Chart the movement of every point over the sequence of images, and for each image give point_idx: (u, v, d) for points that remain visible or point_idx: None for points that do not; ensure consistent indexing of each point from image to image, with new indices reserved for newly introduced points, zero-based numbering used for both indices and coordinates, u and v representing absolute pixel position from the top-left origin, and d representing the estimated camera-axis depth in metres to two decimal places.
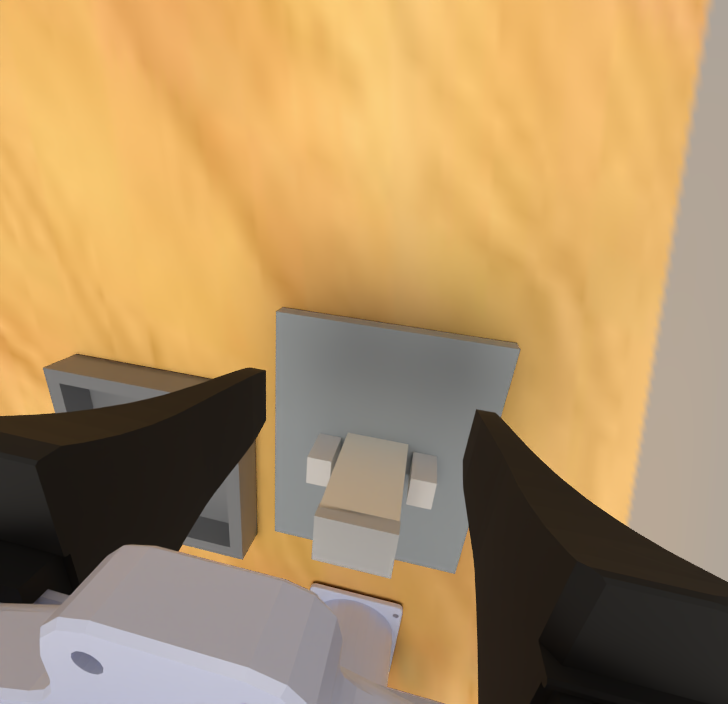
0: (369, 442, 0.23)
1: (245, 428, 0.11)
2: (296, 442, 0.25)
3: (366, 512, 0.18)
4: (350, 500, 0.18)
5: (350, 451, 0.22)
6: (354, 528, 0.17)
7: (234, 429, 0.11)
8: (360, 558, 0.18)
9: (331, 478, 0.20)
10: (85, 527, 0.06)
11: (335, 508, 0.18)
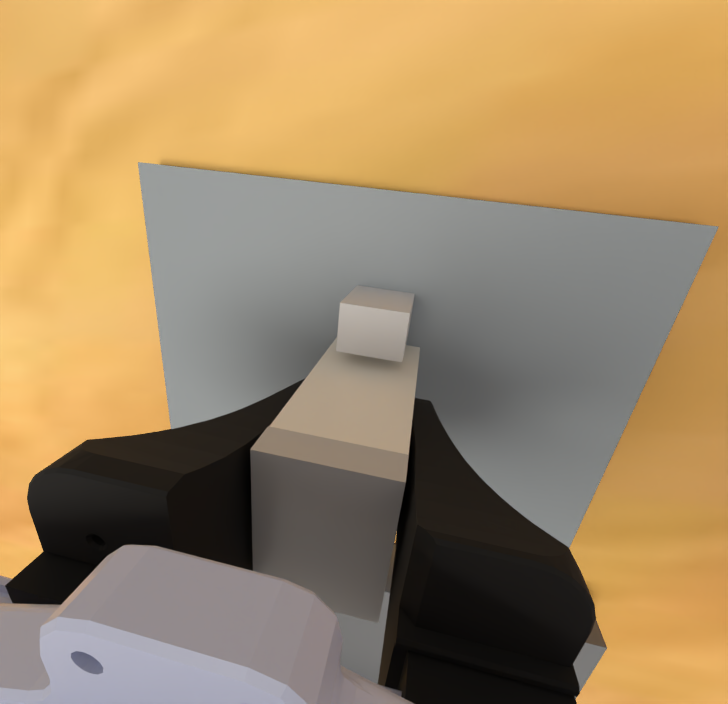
0: None
1: None
2: None
3: None
4: None
5: None
6: (262, 530, 0.08)
7: None
8: (349, 535, 0.07)
9: None
10: None
11: None
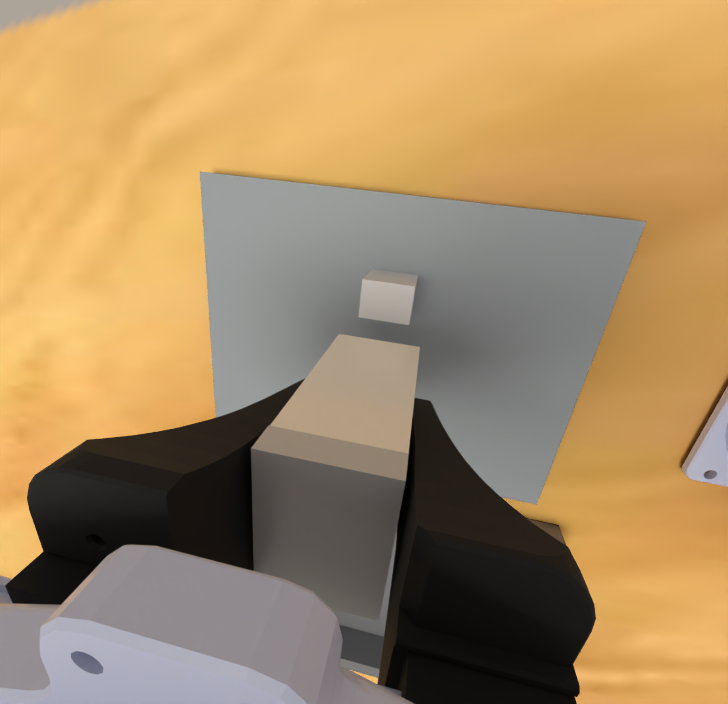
0: None
1: None
2: None
3: None
4: None
5: None
6: (263, 529, 0.08)
7: None
8: (349, 534, 0.07)
9: None
10: (195, 556, 0.06)
11: None
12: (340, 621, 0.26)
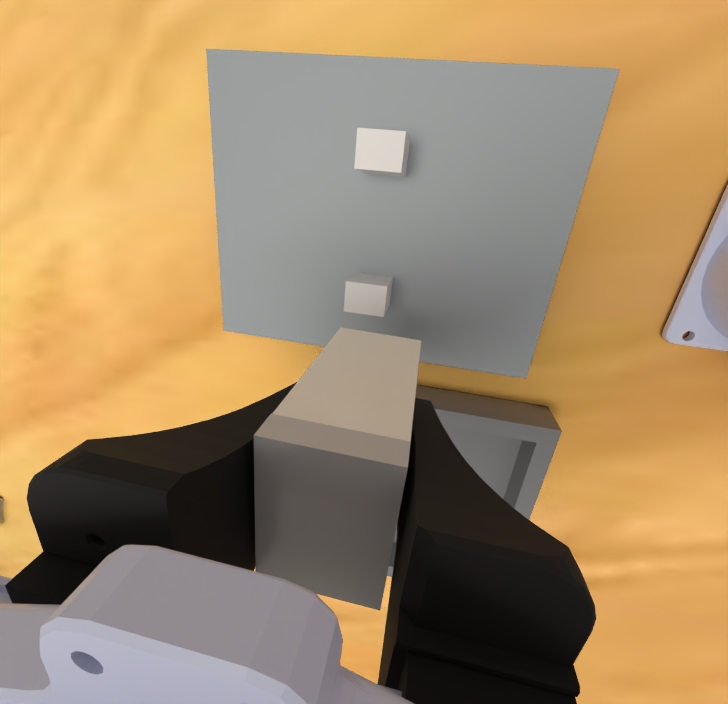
0: None
1: None
2: (371, 329, 0.20)
3: None
4: None
5: None
6: (265, 517, 0.08)
7: None
8: (351, 521, 0.07)
9: None
10: (195, 556, 0.06)
11: None
12: None
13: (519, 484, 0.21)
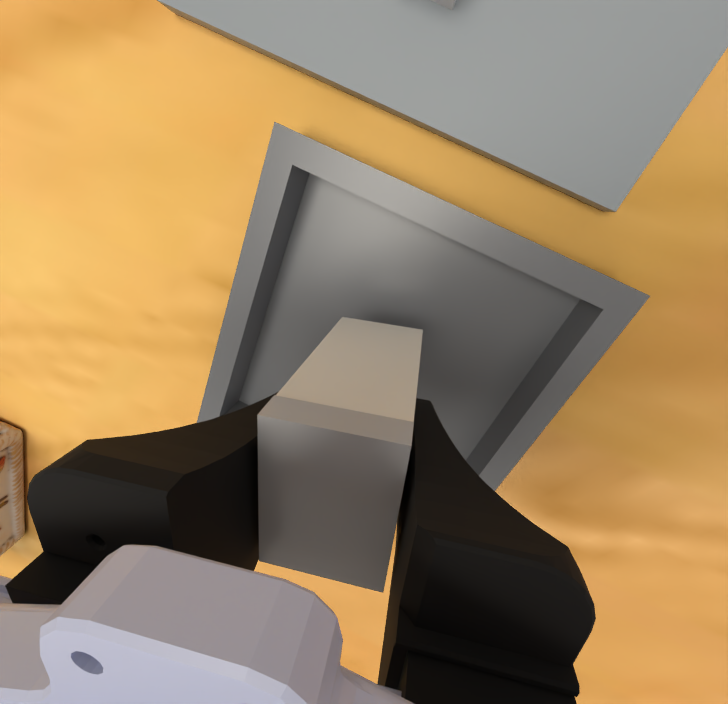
0: None
1: None
2: (405, 56, 0.12)
3: None
4: None
5: None
6: (268, 499, 0.08)
7: None
8: (354, 502, 0.07)
9: None
10: (195, 556, 0.06)
11: None
12: None
13: (545, 379, 0.14)
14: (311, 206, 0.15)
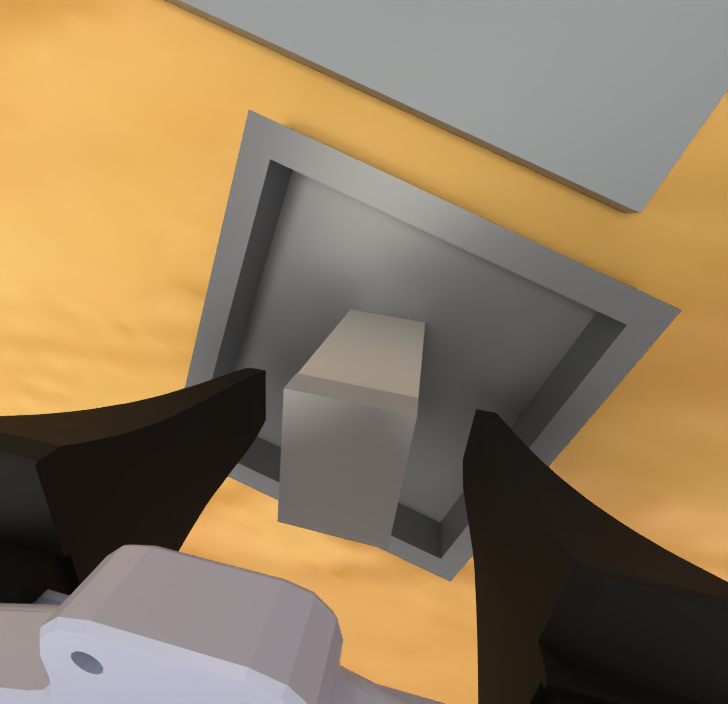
0: None
1: (245, 428, 0.11)
2: (400, 33, 0.11)
3: None
4: None
5: None
6: (289, 464, 0.09)
7: (234, 430, 0.11)
8: (366, 466, 0.08)
9: None
10: (85, 528, 0.06)
11: None
12: None
13: (558, 401, 0.13)
14: (295, 206, 0.13)
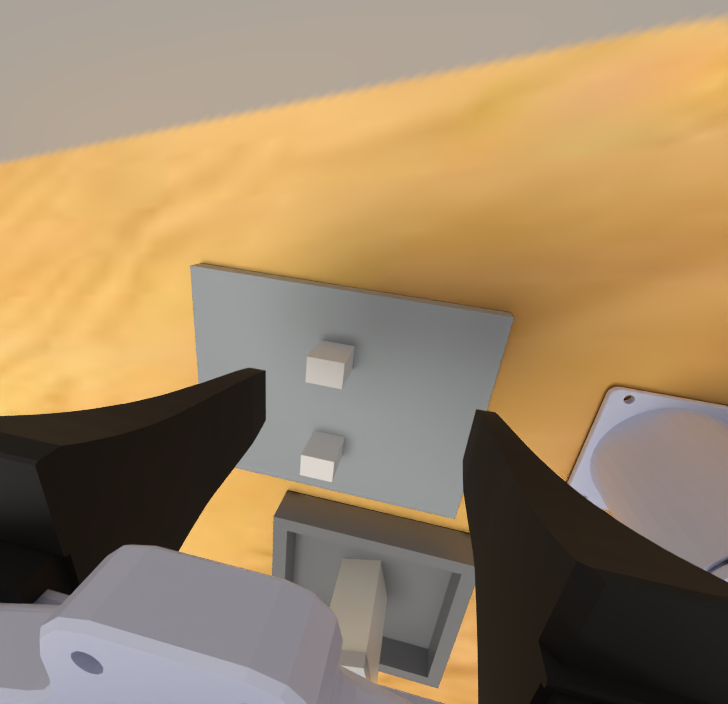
0: None
1: (245, 428, 0.11)
2: None
3: None
4: None
5: None
6: None
7: (234, 429, 0.11)
8: None
9: None
10: (85, 528, 0.06)
11: None
12: None
13: (451, 600, 0.25)
14: None
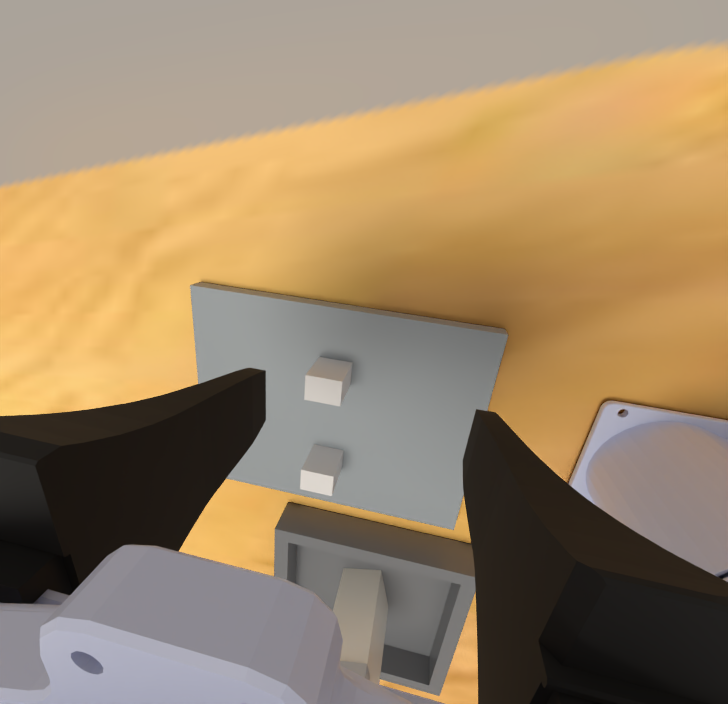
0: None
1: (245, 428, 0.11)
2: None
3: None
4: None
5: None
6: None
7: (234, 429, 0.11)
8: None
9: None
10: (85, 528, 0.06)
11: None
12: None
13: (450, 610, 0.25)
14: None
